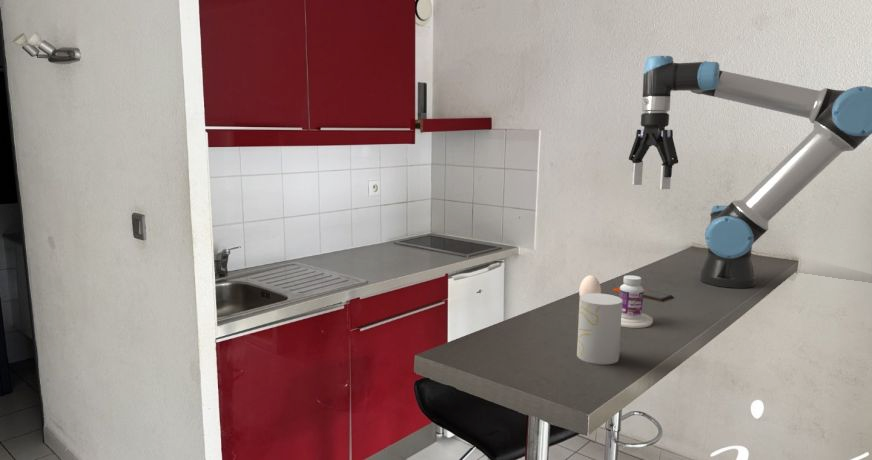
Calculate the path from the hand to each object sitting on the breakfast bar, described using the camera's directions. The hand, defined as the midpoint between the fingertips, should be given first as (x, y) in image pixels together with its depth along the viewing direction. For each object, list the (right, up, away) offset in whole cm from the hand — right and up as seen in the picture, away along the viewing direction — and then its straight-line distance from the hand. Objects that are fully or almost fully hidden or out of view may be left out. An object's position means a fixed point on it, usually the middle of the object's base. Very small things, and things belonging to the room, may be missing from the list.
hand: (650, 186), depth 174 cm
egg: (-22, -32, -19) cm, 43 cm away
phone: (-5, -31, -8) cm, 32 cm away
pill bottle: (-16, -33, -31) cm, 48 cm away
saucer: (-16, -34, -31) cm, 49 cm away
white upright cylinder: (-30, -38, -54) cm, 73 cm away
